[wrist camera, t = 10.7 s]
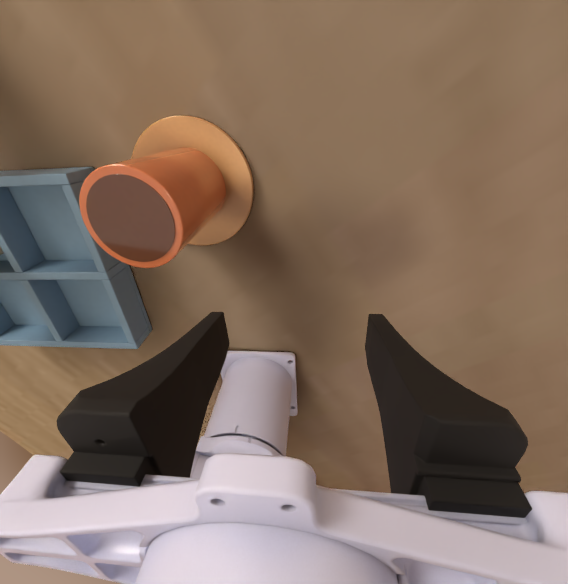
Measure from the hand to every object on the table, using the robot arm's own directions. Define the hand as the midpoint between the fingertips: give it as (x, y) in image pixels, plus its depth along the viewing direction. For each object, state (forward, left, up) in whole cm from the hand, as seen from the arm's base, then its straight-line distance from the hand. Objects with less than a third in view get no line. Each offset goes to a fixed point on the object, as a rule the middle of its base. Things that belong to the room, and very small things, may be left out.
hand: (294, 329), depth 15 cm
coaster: (+5, +8, -10) cm, 14 cm away
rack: (-1, +23, -10) cm, 25 cm away
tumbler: (+5, +8, -10) cm, 14 cm away
